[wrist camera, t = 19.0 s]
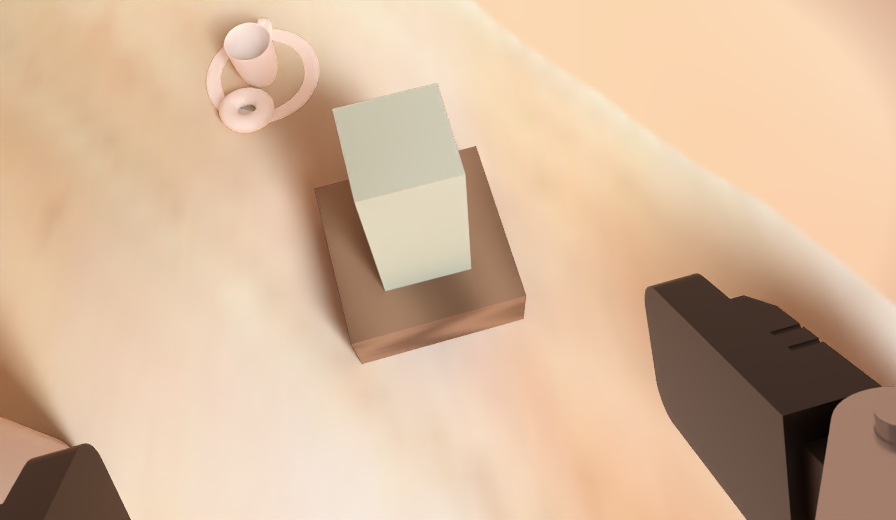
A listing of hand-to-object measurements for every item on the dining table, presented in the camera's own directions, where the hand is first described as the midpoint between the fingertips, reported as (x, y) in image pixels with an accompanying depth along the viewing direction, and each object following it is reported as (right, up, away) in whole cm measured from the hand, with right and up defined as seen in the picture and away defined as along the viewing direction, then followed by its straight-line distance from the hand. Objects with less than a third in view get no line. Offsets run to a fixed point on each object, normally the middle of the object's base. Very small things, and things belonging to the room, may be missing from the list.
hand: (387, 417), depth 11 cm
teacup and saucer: (-15, +14, +45) cm, 50 cm away
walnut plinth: (-1, +2, +38) cm, 39 cm away
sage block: (-1, +3, +35) cm, 35 cm away
